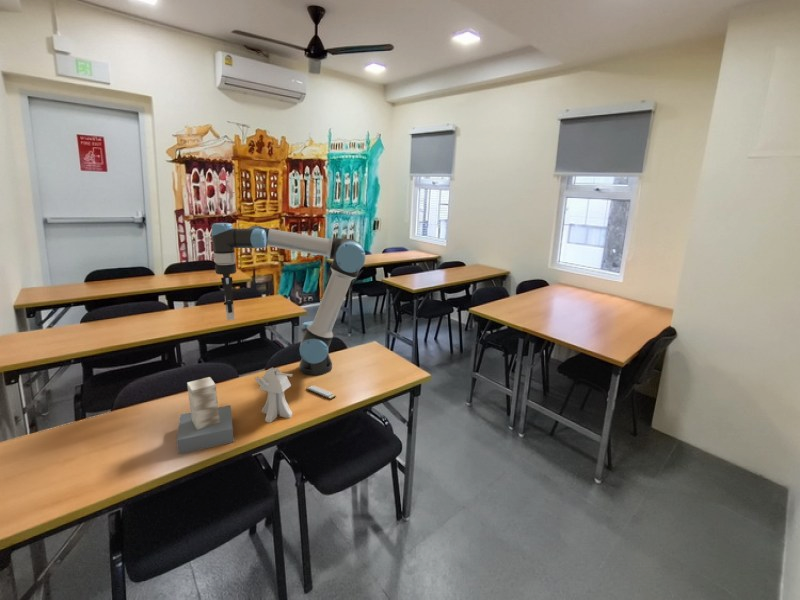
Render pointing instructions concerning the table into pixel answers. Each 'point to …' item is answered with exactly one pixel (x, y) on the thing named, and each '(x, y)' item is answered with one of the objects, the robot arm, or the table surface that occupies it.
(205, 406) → the tall block
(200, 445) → the slate plinth
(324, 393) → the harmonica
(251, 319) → the table surface
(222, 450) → the table surface
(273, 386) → the white mech figurine
